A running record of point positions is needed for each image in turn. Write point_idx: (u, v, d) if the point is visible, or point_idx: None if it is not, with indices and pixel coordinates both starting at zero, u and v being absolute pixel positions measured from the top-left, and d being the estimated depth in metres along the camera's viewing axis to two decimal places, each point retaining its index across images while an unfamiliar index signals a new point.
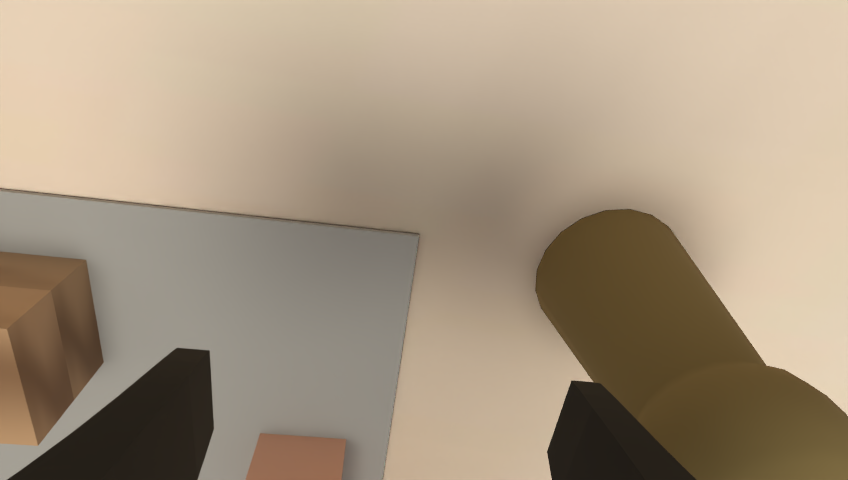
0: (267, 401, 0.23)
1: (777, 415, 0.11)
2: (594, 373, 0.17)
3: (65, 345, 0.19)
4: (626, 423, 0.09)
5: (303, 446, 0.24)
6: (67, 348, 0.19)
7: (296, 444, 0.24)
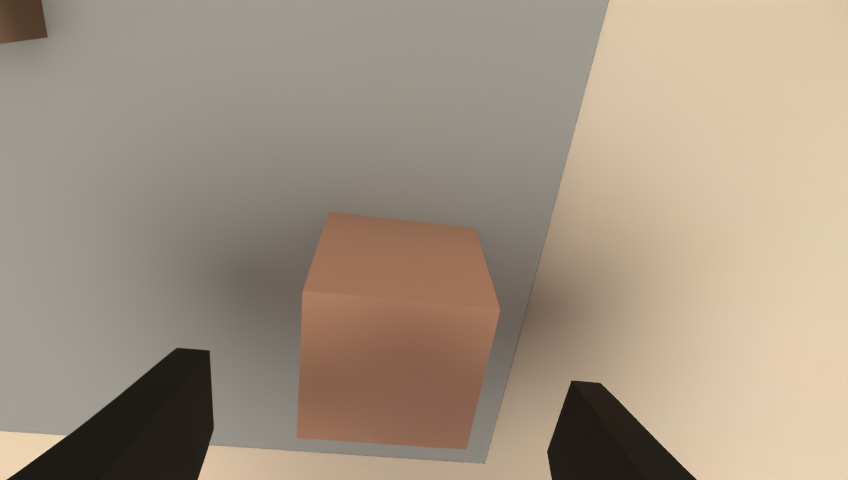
0: (345, 141, 0.13)
1: None
2: None
3: None
4: (626, 423, 0.09)
5: (407, 230, 0.13)
6: None
7: (393, 226, 0.13)
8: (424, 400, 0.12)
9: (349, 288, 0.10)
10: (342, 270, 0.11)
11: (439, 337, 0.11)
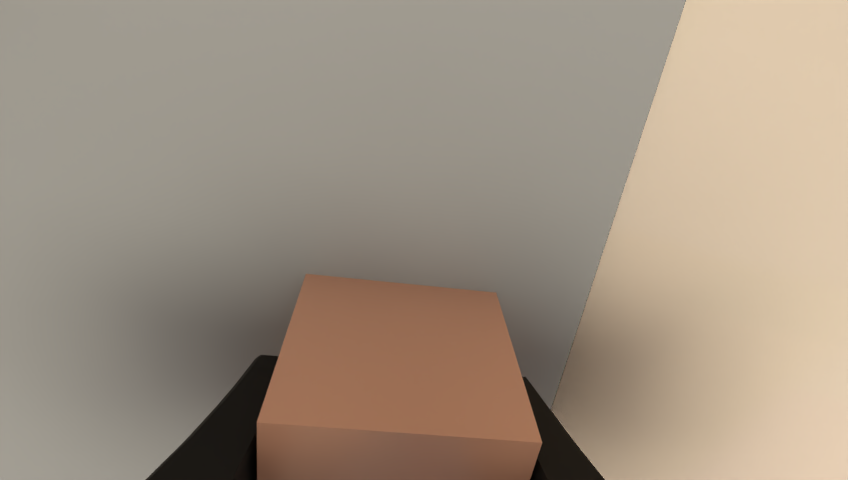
0: (326, 186, 0.10)
1: None
2: None
3: None
4: (540, 417, 0.09)
5: (408, 299, 0.10)
6: None
7: (390, 294, 0.10)
8: None
9: (325, 414, 0.07)
10: (317, 379, 0.08)
11: (455, 476, 0.08)
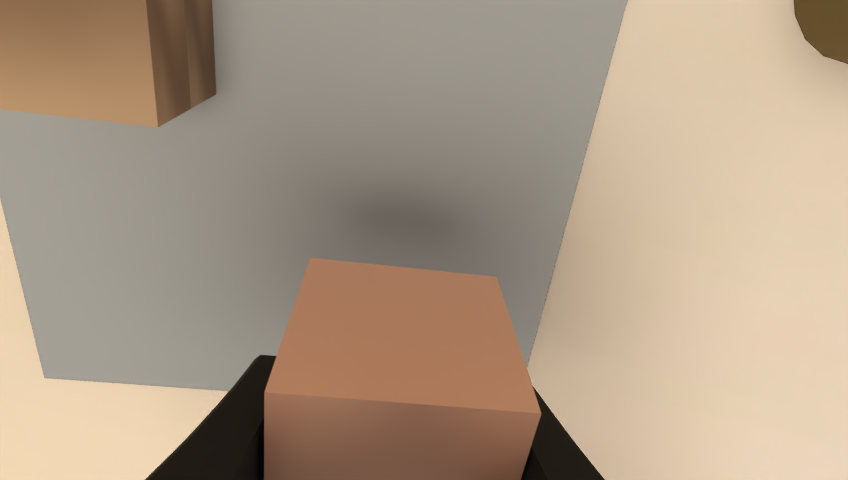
0: (420, 163, 0.18)
1: None
2: None
3: (186, 11, 0.14)
4: None
5: (410, 282, 0.10)
6: (188, 19, 0.14)
7: (392, 277, 0.10)
8: None
9: (331, 385, 0.07)
10: (322, 353, 0.08)
11: (456, 448, 0.08)
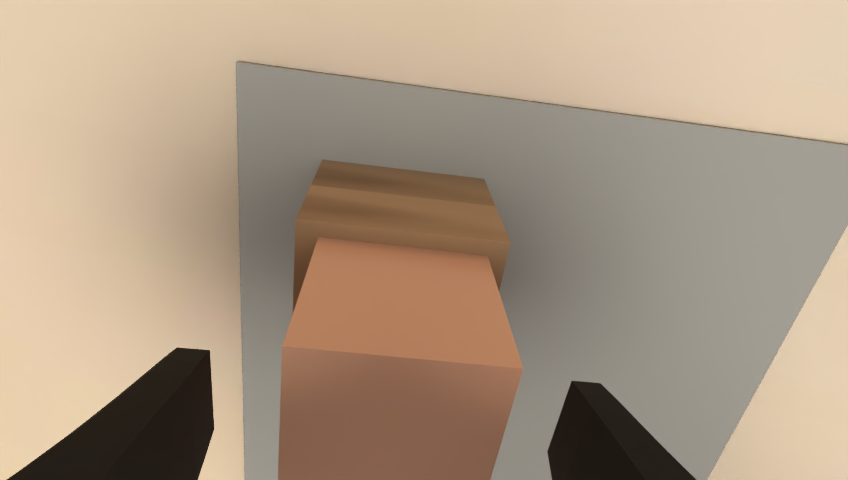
0: (627, 361, 0.20)
1: None
2: None
3: None
4: (626, 423, 0.09)
5: (409, 259, 0.12)
6: None
7: (393, 255, 0.12)
8: (428, 469, 0.10)
9: (339, 342, 0.09)
10: (332, 316, 0.09)
11: (448, 399, 0.09)
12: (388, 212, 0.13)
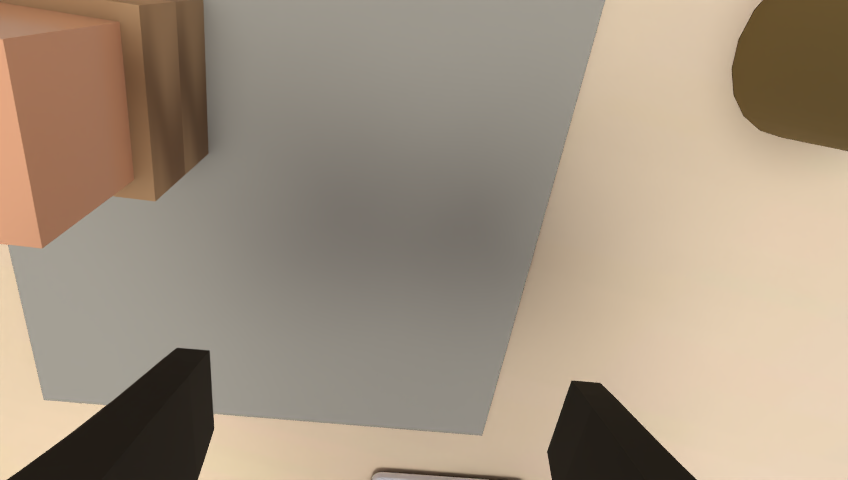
0: (394, 216, 0.20)
1: None
2: None
3: (182, 92, 0.15)
4: (626, 423, 0.09)
5: (17, 9, 0.11)
6: (183, 98, 0.15)
7: (2, 5, 0.11)
8: None
9: None
10: None
11: None
12: None
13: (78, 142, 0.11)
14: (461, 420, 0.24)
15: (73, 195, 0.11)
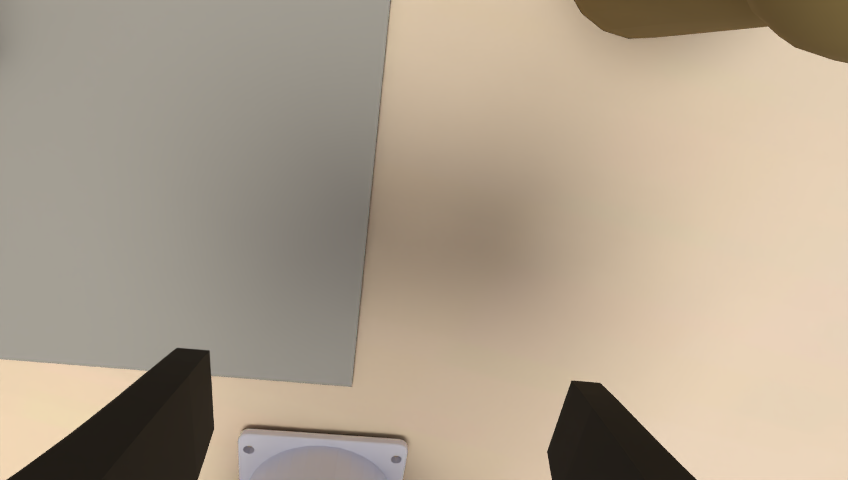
0: (212, 134, 0.18)
1: None
2: None
3: None
4: (626, 423, 0.09)
5: None
6: None
7: None
8: None
9: None
10: None
11: None
12: None
13: None
14: (326, 369, 0.23)
15: None
